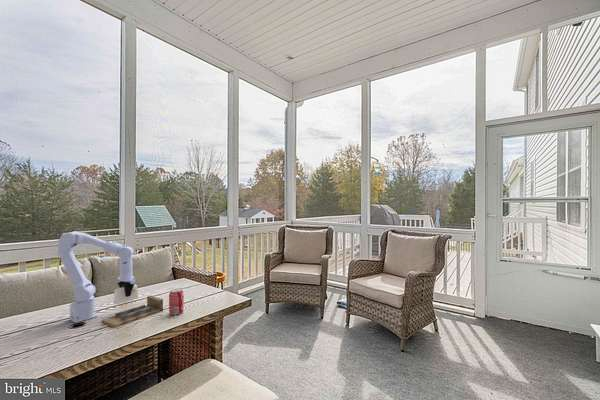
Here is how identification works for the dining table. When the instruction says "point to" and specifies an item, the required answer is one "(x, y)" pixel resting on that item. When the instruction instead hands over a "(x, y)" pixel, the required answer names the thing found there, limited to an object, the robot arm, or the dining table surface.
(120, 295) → the door panel
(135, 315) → the board
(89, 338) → the dining table surface
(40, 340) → the dining table surface
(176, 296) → the soda can
